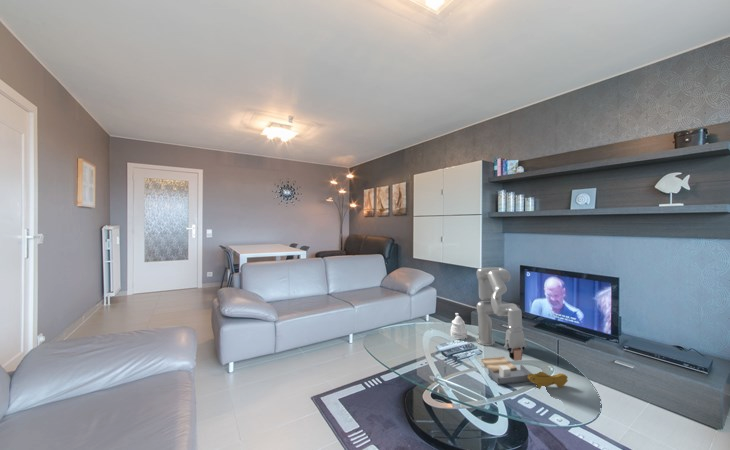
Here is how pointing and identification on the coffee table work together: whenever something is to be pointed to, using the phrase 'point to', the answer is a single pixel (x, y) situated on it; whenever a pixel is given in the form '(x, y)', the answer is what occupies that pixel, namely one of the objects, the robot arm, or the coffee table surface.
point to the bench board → (497, 363)
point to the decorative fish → (547, 379)
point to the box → (515, 377)
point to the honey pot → (458, 328)
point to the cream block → (504, 371)
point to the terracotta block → (517, 354)
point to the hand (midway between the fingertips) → (515, 357)
